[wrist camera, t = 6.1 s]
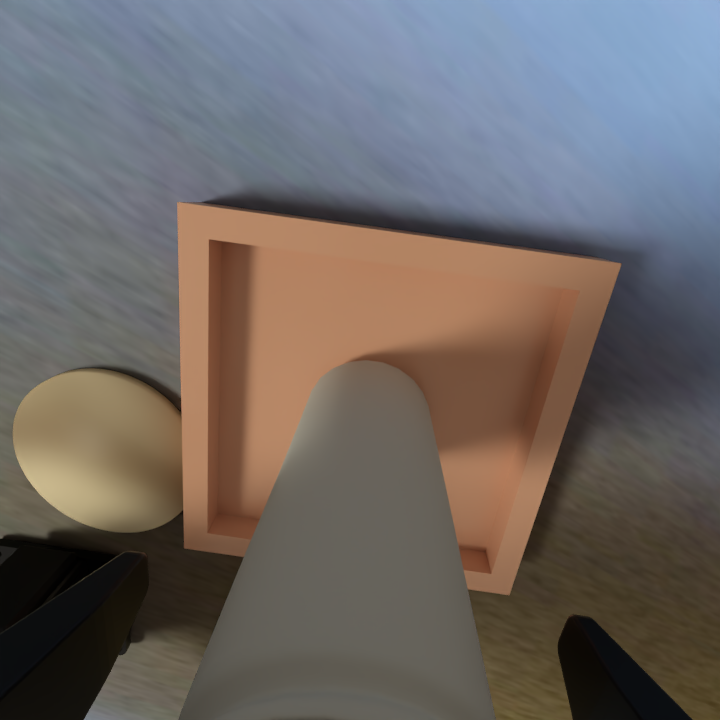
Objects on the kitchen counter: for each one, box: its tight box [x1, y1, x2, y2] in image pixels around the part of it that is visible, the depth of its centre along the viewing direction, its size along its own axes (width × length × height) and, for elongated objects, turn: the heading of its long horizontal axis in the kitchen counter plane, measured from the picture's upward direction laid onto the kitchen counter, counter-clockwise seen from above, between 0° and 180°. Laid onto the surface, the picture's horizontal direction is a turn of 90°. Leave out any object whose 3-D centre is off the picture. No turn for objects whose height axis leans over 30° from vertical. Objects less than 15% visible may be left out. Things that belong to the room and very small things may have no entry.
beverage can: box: [179, 360, 496, 720], centre depth 11 cm, size 5×5×12 cm
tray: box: [177, 202, 621, 595], centre depth 17 cm, size 14×14×2 cm
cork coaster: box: [13, 368, 183, 533], centre depth 19 cm, size 8×8×1 cm
